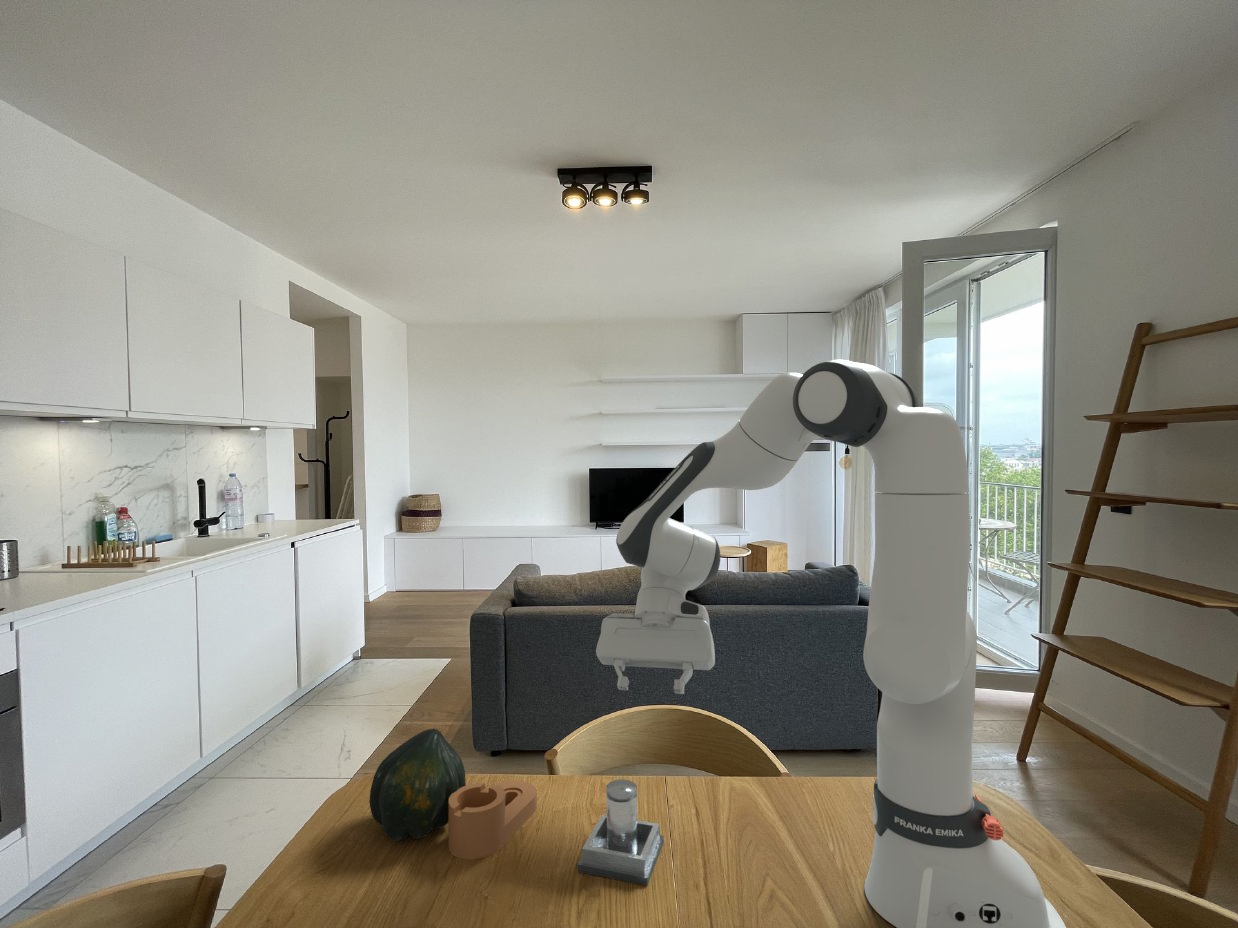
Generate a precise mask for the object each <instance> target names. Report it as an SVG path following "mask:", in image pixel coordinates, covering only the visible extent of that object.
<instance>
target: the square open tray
mask: <svg viewBox="0 0 1238 928" xmlns="http://www.w3.org/2000/svg"><path fill="white" fill-rule="evenodd" d="M660 828H661V827H660V823H656V822H650V821H646V820H639V819H637V843H638V850H637V853H636V854H635V855H634V854H629V853H624V852H618V851H613V850H607V814H603V813H602V814H601V816H600V818H599V819H598V821H597V822H596V824H595V825H594V827H593V830H592V831H591V833H590V834H589V836H588V838H587V839H586V841H585V843H584V845H582V848H581V858H580V860H579V861H578V863H577V865H576V866H577V872H578V873H582V874H586V875H591V876H592V875H593V876H597V877H603V878H607V879H611V880H612V879H613V880H616V881H617V880H618V881H622V882H627V883H632V884H637V885H643V886H648V885H649V882H650V880H651V877H652V874H653V872H654V868H655V865H656V863H657V860H658V858H659V855H660V852H661V850H662V848H663V845H664V839H665V838H664V835H660V832H661V831H660V830H661V829H660Z"/></svg>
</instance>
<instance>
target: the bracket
mask: <svg viewBox="0 0 1238 928" xmlns="http://www.w3.org/2000/svg"><path fill="white" fill-rule="evenodd" d="M537 791H538V790H537V788H536V786H535V785H533V784H532V783H530V782H528V781H523V780H507V781H503V782H499V783H497V784H494V783H492V784H491V785H490V786H489V787H488V788H486V782H477V783H471V784H467V785H466V786H464V787H461V788H459V789H458V790H457V791H456V792H454V793H452V794H451V795H450V797H449V819H448V823H447V824H448V830H447V831H448V835H447V836H448V837H447V839H448V844H447V845H448V846H447V848H448V851H449V852H450V853H451V855H453V856H454V857H456V858H459V859H463V860H479V859H483V858H486V857H490V856H492V855H494V854H495V853H497V852H498V851H499V850H501V849H502V847H504V845H505V844H506V843H507V842H508V841H509V840H510V839H511V838H513V836H514V835H515V834H516V833H517V832H518V831H519V830H520V828H522V827H523V826H524V825H525V824H526V822H527V821H528V820H529V819H530V818H531V817H532V816H533V815H534V814H535V813H536V811H537V804H538V803H537V801H538V797H537Z"/></svg>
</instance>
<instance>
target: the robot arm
mask: <svg viewBox="0 0 1238 928" xmlns="http://www.w3.org/2000/svg"><path fill="white" fill-rule="evenodd" d="M918 403H919V402H918V397H917V394H916V392H915V391H914V390H913V388H912V386H911V385H910V384H909V383H908V382H907V381H906V380H905V379H904V378H902V377H901V376H899V375H897V374H895V373H893V372H888V371H885V370H883V369H881V368H879V367H877V366H875V365H873V364H869V363H864V362H863V363H862V362H855V361H851V360H847V359H831V360H826V361H822V362H819V363H817V364H815V365H813V366H811V367H810V368H809V369H807V370H806V371H805V372H803V374H802V373H799V372H789V371H788V372H783V373H781V374H778V375H777V376H775V377H774V378H773V379H772V380H771V381H770V382H769V383H767V385H766V386H765V387H764V388H763V389H762V391H760V393H759V394H758V395H757V396H756V397H755V398H754V400H753V401H752V402H751V403H750V404H749V406H748V407H747V409H746V410H745V411H744V413H743V414H742V415H741V417H740V418H739V420H738V422H737V423H736V424H735V425H734V426H733V427H732V428H731V429H730V430H729V431H727V433H724V434H723V435H721V436H720V437H718V438H717V439H715V440H711V441H704V442H700V443H699V444H698V445H696V447H694V448H693V449H692V450H690V452H689V453H688V454H687V455H686V456H685V457H683V459H682V460H681V461H680V462H679V463H678V464H677V465H676V466H675V468H673V470H672V471H671V472H670V473H669V474H667V476H666V477H665V478H664V479H663V480H662V482H661V483H660V484H659V485H658V486H657V487H656V488H655V489H654V490H653V492H651V493H650V495H649V496H648V497H647V498H646V499H645V500H644V501H643V502H641V504H639V505H638V506H637V507H635V508H634V509H633V510H632V511H631V512H629V514H628V515H627V516H626V517H625V519H624V520H623V521H622V523H621V524H620V527H619V529H618V532H617V535H616V540H615V543H616V546H617V549H618V551H619V554H620V555H621V557H622V558H623V560H624V562H625V563H626V564H629V565H632V566H636V567H639V568H641V571H640V572H641V573H640V581H641V586H640V588H639V591H638V593H637V597H636V605H635V610H634V613H631V612H630V613H617V612H613V613H611V614H609V615H607V616H606V617H604V618H603V619H602V622H601V627H600V635H599V638H598V641H597V644H596V649H595V654H596V657H597V659H598V660H599V661H600V663H601V664H602V665H604V666H613V668H614V670H615V672H616V675H617V677H618V678H617V683H616V685H617V689H618V691H629V685H630V680H629V678H628V676H624V675H623V673H622V672H625V670H626V667H640V668H641V667H642V668H656V669H657V668H660V669H661V668H662V669H676V670H677V669H680V670H682V671H683V672H682V674H681V676H680V677H679V679H678V678H677V679H676V678H675V679H674V680H673V681H674V682H673V684H674V685H673V692H674V694H677V695H678V694H679V695H684V694H685V688H686V687H685V686H686V684H687V683H688V681H690V679H691V678H692V676H693V674H694V672H693V671H694V670H698V671H699V670H700V671H711V669H712V668H713V667H714V666H715V664H716V654H715V653H716V652H715V643H714V642H715V641H714V638H713V634H712V630H711V626H710V625H711V623H710V617H709V613H708V610H707V609H706V607H705V606H704V605H702V604H700V603H696V602H693V601H690V600H687V599H686V594H687V593H688V591H691V592H692V591H695V590H697V589H699V588H701V587H703V586H705V585H707V584H708V583H710V582H712V581H713V580H714V579H715V578H716V576H717V575H718V573H719V570H720V566H721V549H720V545H719V543H718V540H717V539H716V537H715V536H712V535H711V534H709V533H708V532H705V531H702V530H700V529H698V528H696V527H693V526H690V525H687V524H685V523H682V522H680V521H678V520H675V519H672V518H671V516H672V515H674V513H676V512H677V510H678V509H679V508H680V507H681V506H682V505H683V504H684V503H685V502H686V501H687V500H688V499H689V498H690V497H691V495H693V494H695V493H697V492H699V491H701V490H706V489H717V488H718V489H721V488H722V489H734V490H735V489H737V490H743V491H755V490H756V491H758V490H763V489H767V488H771V487H773V486H775V485H777V484H778V483H780V482H781V481H782V480H783V479H784V478H785V477H786V476H787V475H788V474H789V473H790V472H791V470H792V469H793V468H794V467H795V465H796V464H797V462H798V461H799V460H800V459H801V457H802V455H803V454H804V452H806V450H807V449H808V447H809V446H810V445H811V444H812V442H813V441H814V440H816V439H817V437H819V438H821V439H825V440H827V441H832V442H837V443H839V444H843V445H846V446H850V447H854V448H860V447H863V448H865V449H866V451H868V453H869V455H870V456H871V460H872V461H873V467H874V468H873V469H874V533H875V534H874V536H875V537H874V546H875V547H874V561H873V567H872V568H873V569H872V576H871V583H870V591H869V592H870V593H869V602H868V610H867V611H868V612H867V624H866V635H865V640H864V646H863V654H862V656H863V657H862V658H863V665H864V668H865V671H866V673H867V675H868V677H869V679H870V680H871V682H872V683H873V684H874V686H876V688H877V689H879V691H880V692H881V694H882V695H881V701H880V706H879V707H880V708H879V713H878V718H877V723H876V724H877V725H876V736H877V737H876V755H877V756H876V757H877V758H876V766H877V767H876V770H877V771H876V773H877V775H876V776H877V778H876V779H875V780H874V783H873V792H872V822H873V826H874V830H875V832H874V833H875V835H874V843H873V848H872V849H873V850H872V855H871V856H872V857H871V861H870V864H869V868H868V869H869V870H868V873H867V875H866V879H865V881H864V887H863V888H864V889H863V890H864V894H865V896H866V899H867V902H868V903H869V904H870V905H871V907H872V908H873V909H874V911H875V912H877V913H878V915H879V916H881V917H882V918H883V919H884V920H885V921H887V922H888V923H890V924H891V925H893V926H894V927H896V928H1067V926H1066V925H1065V922H1064V920H1063V919H1062V917H1061V916H1060V914H1059V913H1058V911H1057V909H1056V908H1055V907H1054V906H1053V905H1052V903H1051V902H1050V901H1049V900H1048V899H1047V897H1045V896H1044V891H1043V890H1042V887H1041V883H1040V882H1039V880H1038V877H1037V875H1036V874H1035V873H1034V871H1033V870H1032V868H1031V866H1030V864H1028V862H1027V861H1026V860H1025V858H1024V857H1023V856H1022V855H1021V854H1020V853H1019V852H1018V851H1016V849H1014V848H1013V847H1011V846H1010V845H1009V844H1008V843H1006V842H1005V841H1004V840H1003V839H1002V838H1004V834H1005V832H1004V828H1003V827H1002V825H1001V824H1000V821H999V820H998V819H997V818H996V817H995V816H993V815H991V811H990V809H989V807H988V806H987V805H986V804H985V803H984V802H983V801H982V800H981V798H980V797H979V795H977V793H974V795H973V792H974V791H973V736H974V735H973V733H974V720H975V719H974V718H975V717H974V716H975V699H976V679H977V676H976V675H977V674H976V673H977V651H978V647H977V646H978V642H977V641H978V637H977V636H978V633H977V629H976V626H975V623H974V620H973V618H972V616H971V615H970V613H969V612H968V610H967V604H968V603H967V602H968V599H967V598H968V583H969V572H970V571H969V568H970V561H971V536H970V534H971V532H970V531H971V530H970V529H971V528H970V527H971V526H970V523H971V522H970V487H969V485H970V484H969V471H968V464H967V463H968V462H967V456H966V451H965V450H966V449H965V446H964V445H965V444H964V439H963V436H962V435H963V434H962V432H961V428H960V425H959V423H958V422H957V420H956V419H955V418H954V417H953V416H952V415H951V414H949V413H947V412H945V411H943V410H940V409H937V408H935V407H934V408H932V407H928V406H927V407H926V406H919V404H918Z"/></svg>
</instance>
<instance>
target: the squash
mask: <svg viewBox="0 0 1238 928" xmlns="http://www.w3.org/2000/svg"><path fill="white" fill-rule="evenodd" d="M466 784H467V783H466V771H465V766H464V763H463V761H462V758H461V756H460V755H459V753H458V752H457V750H456V749H455V748H454V747H453V746H452V745H451V743H449V742H448V740H447V739H446V738H445V736H444V735H443V734H442V732H441V731H440V730H439V728H437V727H434V728H428V729H425V730H423V731H421V732H419V733H417V734H415V735H414V736H412V737H411V738H409V739H407V740H406V741H404V742H403V743H401V744H400V745H399V746H398V747H397V748H395V749H394V750H393V751H392V752H390V753H389V754H388V755H387V756H386V757H385V758H384V759H382V760H381V762H380V764H379V765H378V767H377V769H376V771H375V773H374V776H373V777H372V782H371V787H370V791H369V799H368V800H369V801H368V802H369V808H370V813H371V816H372V817H373V819H374V821H375V822H376V823H377V824H379V825H380V826H382V828H383V831H384V834H385V836H386V837H387V838H389V839H390V840H392V841H394V842H398V841H399V842H400V841H403V840H405V839H406V838H408V837H409V836H410V837H411V838H413V839H417V840H418V839H421V838H423V837H426V836H427V835H428V834H430V832H431V830H437V829H440V828H442V827H444V826H446V825H447V824H448V819H449V797H450V795H451V794H452V793H454V792H456V791H457V790H458V789H459V788H461V787H464V786H467V785H466Z"/></svg>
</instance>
